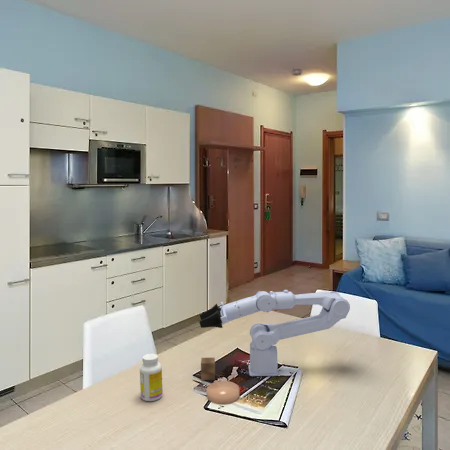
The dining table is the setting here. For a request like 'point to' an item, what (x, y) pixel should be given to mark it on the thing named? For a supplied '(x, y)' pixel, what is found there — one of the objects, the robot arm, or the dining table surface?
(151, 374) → the supplement bottle
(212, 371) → the walnut block
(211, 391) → the tan round disc
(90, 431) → the dining table surface
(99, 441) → the dining table surface
